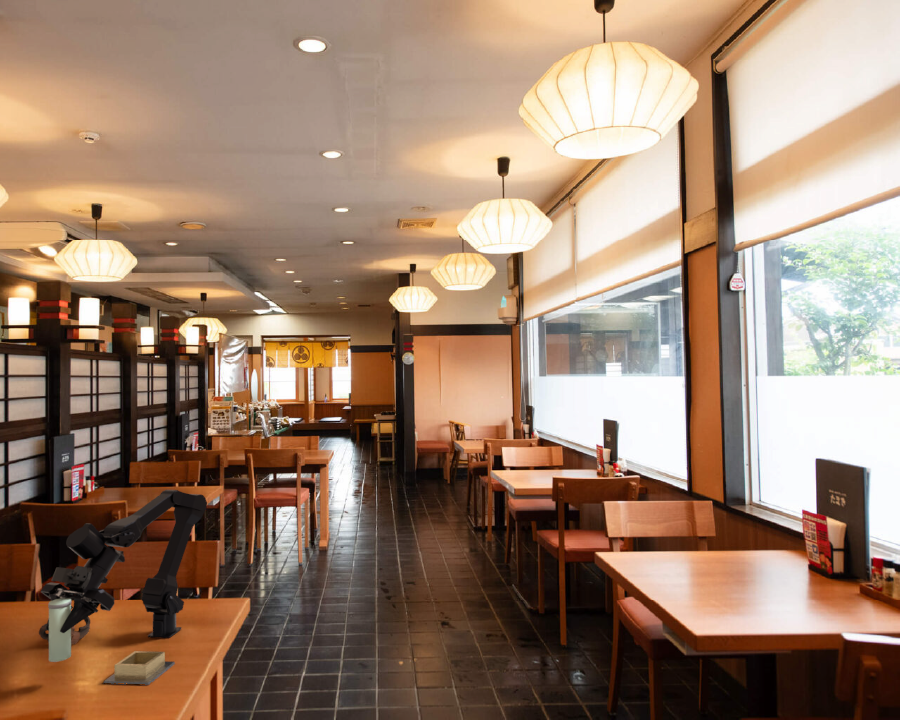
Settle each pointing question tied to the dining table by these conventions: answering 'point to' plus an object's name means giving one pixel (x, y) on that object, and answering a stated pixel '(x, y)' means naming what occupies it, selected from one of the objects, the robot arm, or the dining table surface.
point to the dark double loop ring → (76, 634)
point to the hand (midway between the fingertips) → (54, 631)
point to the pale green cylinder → (58, 640)
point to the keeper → (140, 668)
